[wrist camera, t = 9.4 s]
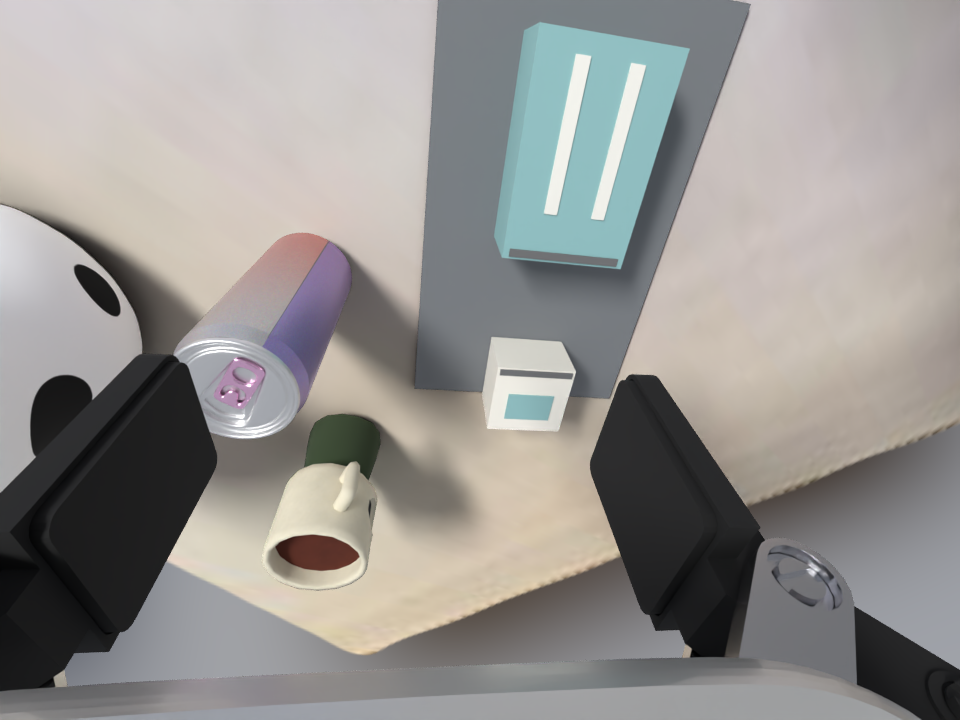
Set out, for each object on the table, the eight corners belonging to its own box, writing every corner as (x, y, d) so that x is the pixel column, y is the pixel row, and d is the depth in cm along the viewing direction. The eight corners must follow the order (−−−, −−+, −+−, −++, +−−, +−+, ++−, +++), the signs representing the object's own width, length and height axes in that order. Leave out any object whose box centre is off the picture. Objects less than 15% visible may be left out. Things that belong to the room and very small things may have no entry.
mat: (441, -55, 23) (441, -57, 23) (746, 4, 26) (750, 4, 25) (414, 385, 39) (414, 388, 38) (607, 395, 41) (609, 398, 41)
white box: (491, 336, 36) (498, 367, 32) (561, 341, 37) (576, 372, 33) (482, 394, 39) (487, 429, 35) (546, 398, 40) (558, 432, 36)
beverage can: (368, 262, 32) (326, 380, 20) (329, 320, 34) (269, 460, 22) (291, 212, 30) (188, 310, 17) (254, 278, 32) (139, 407, 20)
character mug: (360, 481, 44) (336, 612, 34) (289, 459, 42) (239, 593, 31) (407, 406, 40) (397, 531, 29) (331, 377, 37) (289, 500, 26)
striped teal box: (524, 30, 25) (540, 21, 21) (653, 52, 26) (690, 48, 22) (493, 236, 32) (502, 258, 28) (599, 246, 33) (621, 269, 29)
